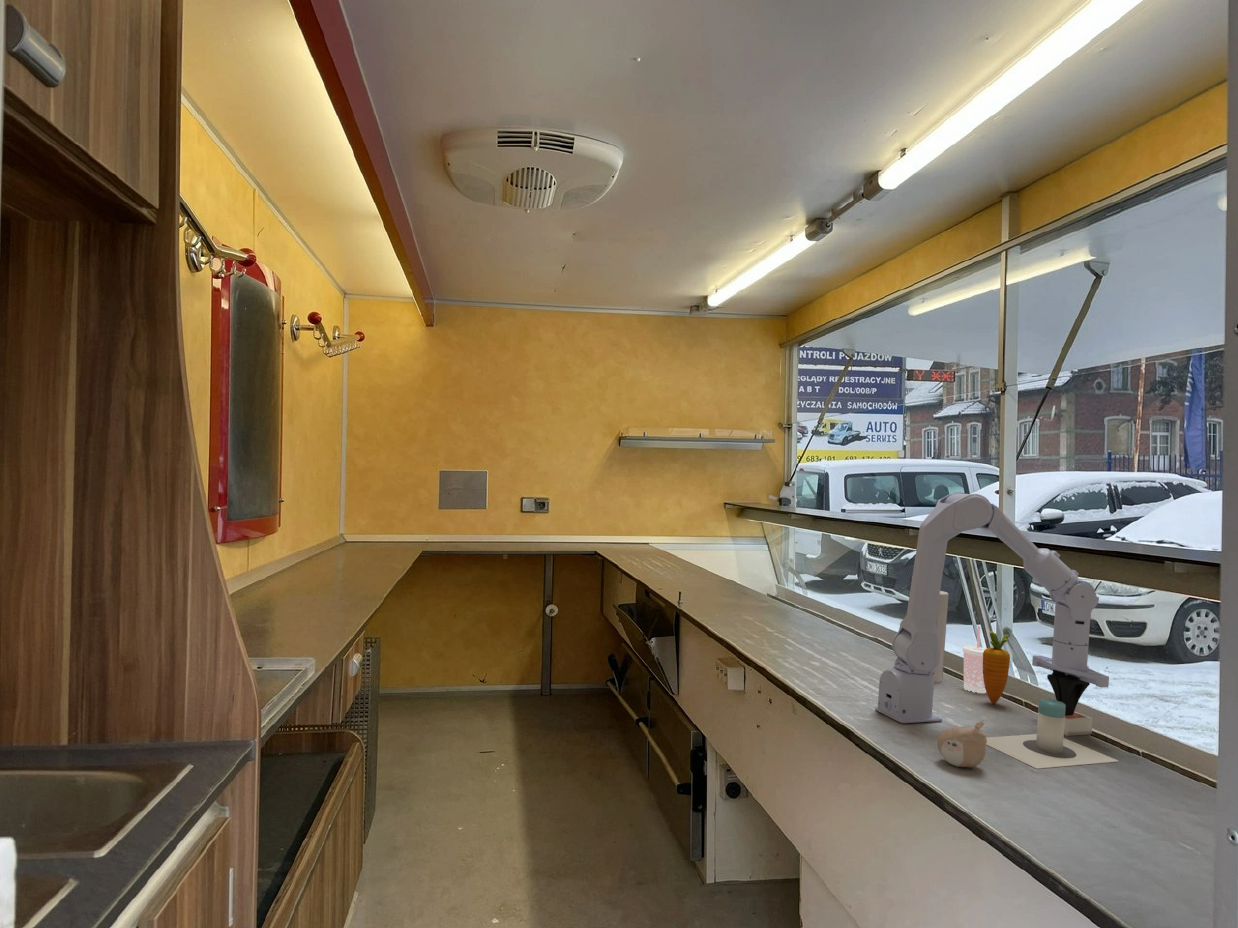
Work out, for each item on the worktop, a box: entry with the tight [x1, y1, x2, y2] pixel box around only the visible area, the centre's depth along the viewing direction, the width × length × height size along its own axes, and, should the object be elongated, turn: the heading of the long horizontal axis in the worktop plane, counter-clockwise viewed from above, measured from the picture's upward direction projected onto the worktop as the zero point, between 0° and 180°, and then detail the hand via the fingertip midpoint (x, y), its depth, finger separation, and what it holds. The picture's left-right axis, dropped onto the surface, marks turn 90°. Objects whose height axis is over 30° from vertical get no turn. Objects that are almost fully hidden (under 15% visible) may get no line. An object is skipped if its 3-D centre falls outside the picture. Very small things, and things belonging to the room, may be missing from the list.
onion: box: [937, 720, 987, 769], centre depth 119 cm, size 7×6×8 cm
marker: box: [1036, 698, 1066, 753], centre depth 129 cm, size 4×4×8 cm
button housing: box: [1064, 711, 1093, 737], centre depth 140 cm, size 6×6×3 cm
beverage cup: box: [962, 625, 988, 694], centre depth 164 cm, size 6×6×14 cm
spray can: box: [934, 590, 949, 684], centre depth 171 cm, size 6×6×20 cm
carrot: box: [983, 630, 1011, 705], centre depth 154 cm, size 5×5×15 cm
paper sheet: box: [986, 733, 1120, 770], centre depth 128 cm, size 18×13×1 cm
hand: (1066, 714), depth 140 cm, fingers closed, pressing on done button
